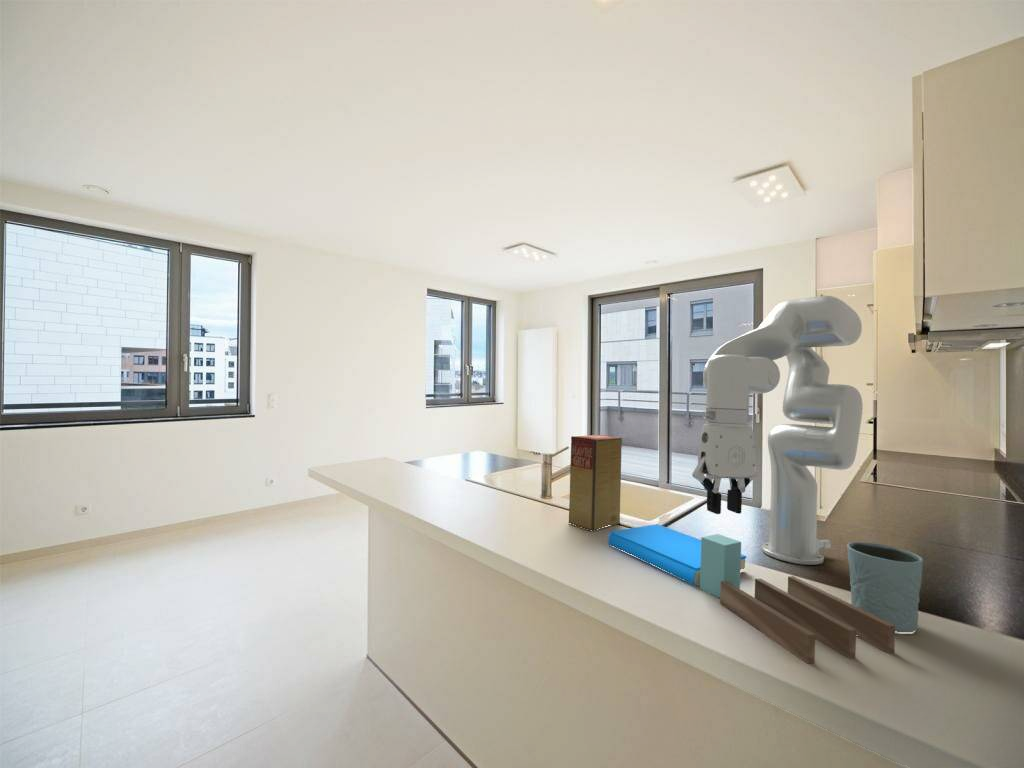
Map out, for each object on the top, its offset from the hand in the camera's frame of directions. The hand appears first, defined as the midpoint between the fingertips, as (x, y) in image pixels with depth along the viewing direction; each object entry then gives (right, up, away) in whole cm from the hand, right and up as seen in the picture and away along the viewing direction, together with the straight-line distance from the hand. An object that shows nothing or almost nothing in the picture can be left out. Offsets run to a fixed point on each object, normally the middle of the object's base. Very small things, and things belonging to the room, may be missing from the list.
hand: (723, 511), depth 87 cm
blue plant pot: (+22, -16, -10) cm, 29 cm away
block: (-1, -15, -1) cm, 15 cm away
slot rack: (+6, -15, -13) cm, 21 cm away
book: (-4, -16, +16) cm, 23 cm away
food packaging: (-18, -15, +41) cm, 47 cm away
